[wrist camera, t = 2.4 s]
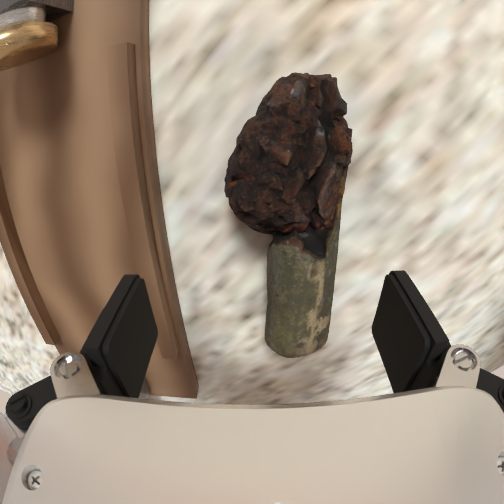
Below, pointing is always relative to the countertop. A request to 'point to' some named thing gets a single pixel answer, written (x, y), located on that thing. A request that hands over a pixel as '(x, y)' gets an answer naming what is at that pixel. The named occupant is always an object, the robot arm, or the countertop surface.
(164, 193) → the countertop surface
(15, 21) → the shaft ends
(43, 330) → the cradle
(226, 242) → the countertop surface
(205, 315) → the countertop surface
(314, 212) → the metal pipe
